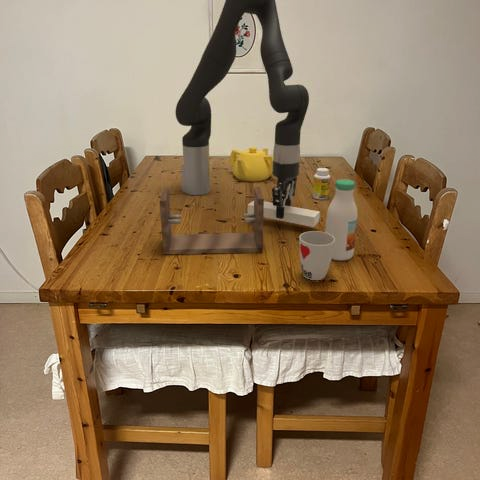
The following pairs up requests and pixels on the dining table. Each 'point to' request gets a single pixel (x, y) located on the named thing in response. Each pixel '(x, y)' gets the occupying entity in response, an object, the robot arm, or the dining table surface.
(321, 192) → the supplement bottle
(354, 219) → the milk bottle
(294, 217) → the shelf board
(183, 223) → the dining table surface
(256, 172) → the teapot
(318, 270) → the cup
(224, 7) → the robot arm
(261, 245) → the shelf frame
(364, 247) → the dining table surface
